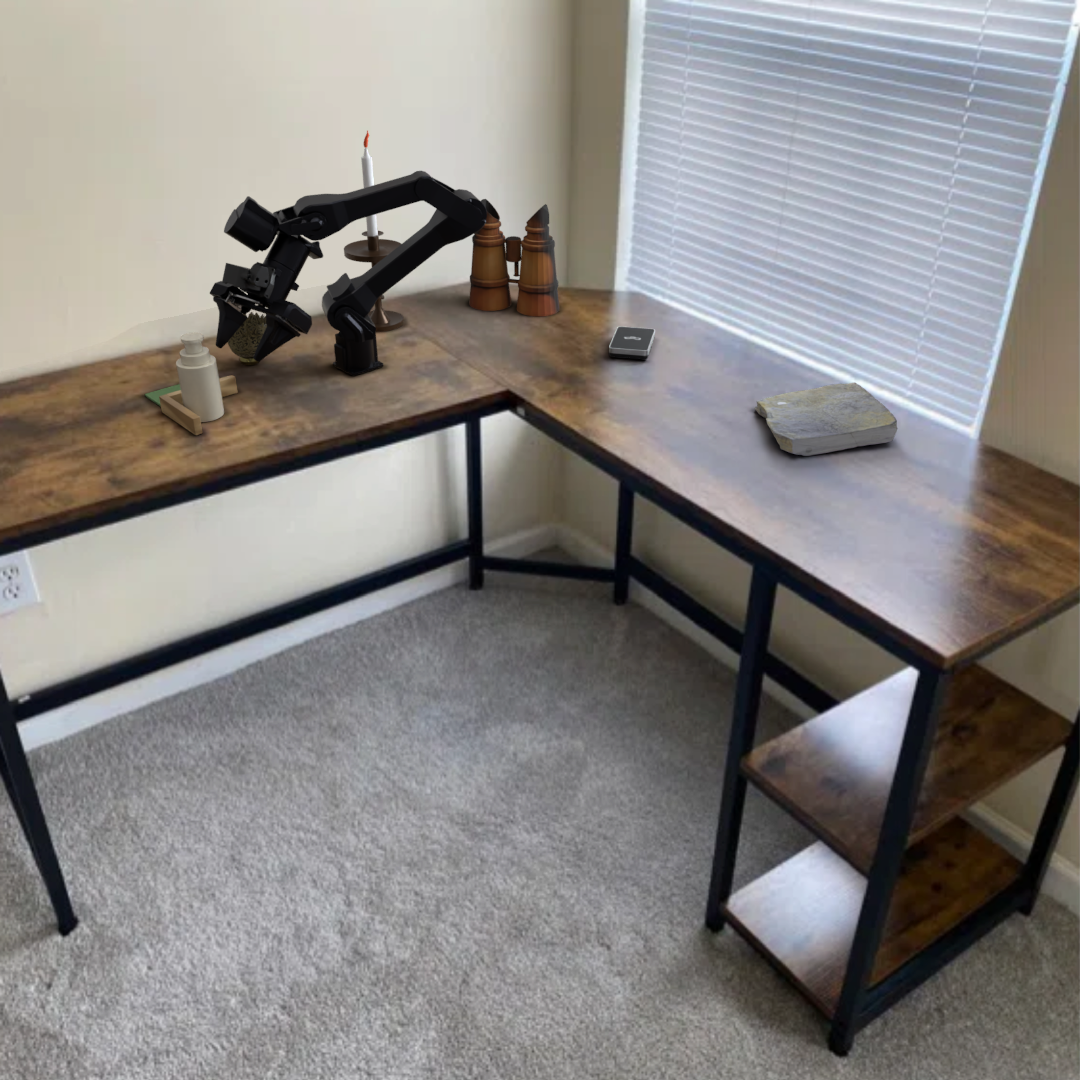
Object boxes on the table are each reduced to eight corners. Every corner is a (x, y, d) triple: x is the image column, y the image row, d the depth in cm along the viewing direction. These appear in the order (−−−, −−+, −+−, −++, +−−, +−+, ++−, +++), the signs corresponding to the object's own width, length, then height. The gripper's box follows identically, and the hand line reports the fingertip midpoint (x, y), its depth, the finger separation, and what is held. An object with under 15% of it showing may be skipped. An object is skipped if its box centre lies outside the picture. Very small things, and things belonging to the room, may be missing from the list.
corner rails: (234, 390, 185) (231, 374, 184) (269, 411, 178) (267, 395, 177) (161, 412, 178) (158, 396, 176) (195, 435, 171) (192, 419, 169)
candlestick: (420, 322, 212) (409, 129, 194) (377, 337, 205) (361, 139, 187) (381, 309, 218) (367, 120, 200) (338, 324, 211) (319, 130, 193)
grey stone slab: (736, 416, 179) (781, 458, 164) (739, 389, 176) (785, 429, 162) (851, 408, 183) (905, 448, 168) (855, 381, 181) (910, 419, 166)
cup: (261, 372, 191) (255, 328, 187) (221, 369, 193) (214, 324, 189) (278, 356, 198) (273, 313, 194) (239, 353, 199) (233, 310, 195)
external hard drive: (654, 339, 205) (655, 328, 204) (647, 362, 196) (647, 351, 195) (617, 336, 206) (617, 326, 205) (608, 358, 197) (608, 348, 196)
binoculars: (462, 308, 219) (458, 204, 209) (477, 294, 226) (474, 194, 215) (552, 318, 214) (552, 213, 204) (565, 304, 221) (566, 201, 210)
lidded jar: (212, 403, 181) (200, 326, 174) (231, 414, 177) (219, 336, 170) (178, 413, 177) (164, 335, 171) (196, 425, 174) (182, 346, 167)
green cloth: (211, 376, 190) (211, 374, 190) (229, 387, 186) (228, 385, 186) (144, 396, 183) (144, 394, 183) (161, 407, 179) (161, 405, 179)
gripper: (209, 231, 178) (164, 317, 176) (289, 252, 168) (241, 343, 167) (255, 267, 188) (212, 349, 186) (332, 289, 178) (288, 376, 176)
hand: (236, 353), depth 178 cm, fingers open, 9 cm apart
